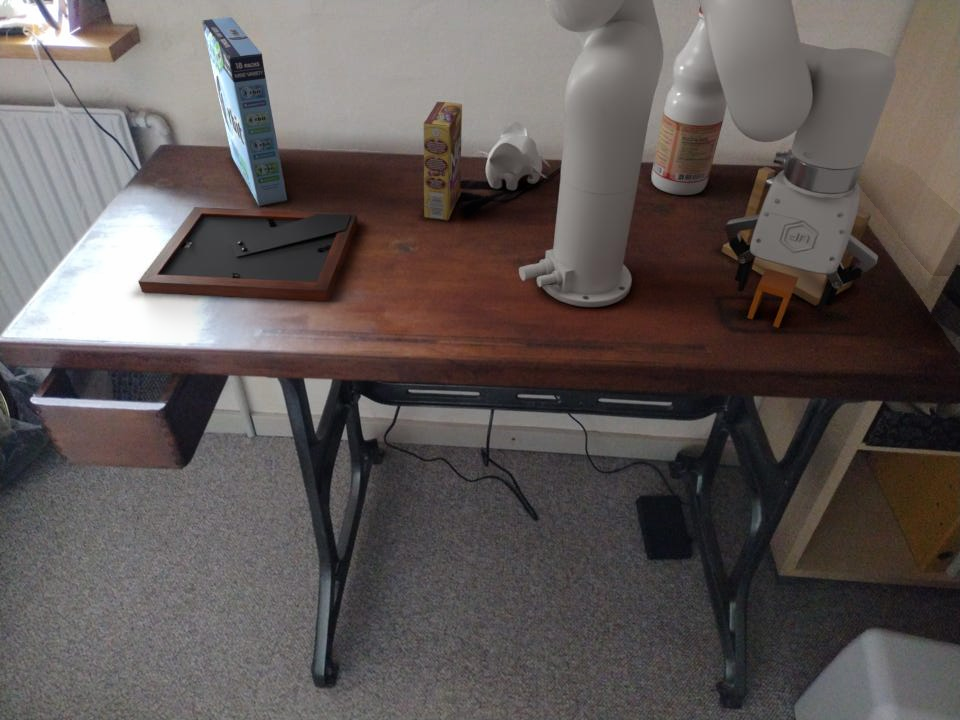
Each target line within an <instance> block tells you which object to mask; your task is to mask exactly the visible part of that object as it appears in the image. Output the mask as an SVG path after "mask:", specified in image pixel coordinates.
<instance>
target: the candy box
mask: <svg viewBox="0 0 960 720" xmlns="http://www.w3.org/2000/svg"><path fill="white" fill-rule="evenodd" d="M462 125H463V104H462V103H458V102H452V101H451V102H450V101H436V103H435V104H434V106H433V108H432V110H431V111H430V113H429V115H428V116H427V117H426V120H425V121H424V122H423V201H424V202H423V203H424V204H423V206H424V207H423V209H424V211H423V212H424V213H423V214H424V215H423V216H424V218H426V219H433V220H441V221H449V220H450V217H451V215H452V213H453V211H454V209H455V206H456V205H457V203H458V200H459V198H460V196H461V176H462V133H463V132H462V129H463V127H462Z"/></svg>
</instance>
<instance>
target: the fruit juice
mask: <svg viewBox="0 0 960 720" xmlns="http://www.w3.org/2000/svg"><path fill="white" fill-rule="evenodd" d="M698 17H699V19H698V22H697V23H696V26H695V28H694V30H693V31H692V33H691V35H690V37H689V38H688V40H687V42H686V43H685V45H684V47H683V48H682V49H681V50H680V52H679V53H678V54H677V55H676V57H675V59H674V62H673V66H672V85H671V88H670V89H669V90H668V93H667V95H666V98H665V102H664V107H663V112H662V117H661V122H660V128H659V132H658V139H657V143H656V148H655V153H654V158H653V159H654V160H653V163H652V169H651V177H650V178H651V179H650V180H651V183H652V184H653V186H654V187H656V189H658V190H660V191H663V192H665V193H668V194H671V195H677V196H692V195H696V194H700V193H701V192H702V191H704V190H705V188H706V186H707V184H708V182H709V178H710V175H711V171H712V167H713V161H714V158H715V154H716V150H717V146H718V142H719V138H720V134H721V130H722V127H723V123H724V119H725V116H726V110H727V107H728V106H727V102H726V99H725V96H724V92H723V89H722V85H721V82H720V79H719V75H718V72H717V68H716V65H715V61H714V57H713V53H712V49H711V45H710V41H709V37H708V33H707V29H706V25H705V20H704V17H703V13H702V10H701V6H700V5H699V9H698Z"/></svg>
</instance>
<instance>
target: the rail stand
mask: <svg viewBox="0 0 960 720" xmlns="http://www.w3.org/2000/svg"><path fill="white" fill-rule="evenodd" d="M775 174H776V170H775V169H773V168H770V167H768V166H764V167H762V168H759V169H758V171H757V175H756V178H755V182H754V184H753V188H752V191H751V195H750V197H749V201H748V204H747V207H746V212H745V214H744V217H748V216H753V215H758V214H760V212H761V209H762V206H763V204H764V201H765V198H766V196H767V193H768V191H769V189H770V187H771V185H772V183H773V181H774V179H775V178H776V176H775ZM871 217H872V214H871V213H869V212H867V211H864V210H862V209H858V210H857V215H856V218H855V222H854V225H853V228H852V232H851V235H852V236H853V237H855V238H856V239H857V240H858V241H860V242H861V240H862V237H863V236H864V233H865V231H866V229H867V227H868V224H869V221H870V220H871ZM754 230H755V228H754V229H748V230H743V231H740V235H741V236H742V237H743V239H744V240H745V242H746V243H747V245H748V244H749V243H751V240H752V237H753V233H754ZM721 252H722V253H724V254H725V255H727V256H729V257H730V258H732V259H734V260H736V261H737V262H738V260H737V258H738V257H737V256H736V254H735V253H734V251H733V250H732V248H731V247H730V245H729V242H727V243H724V244H723V246H722V248H721ZM853 259H854V256H853V255H852V254H851V253H849V252H848V251H847V250H845V253H844V255H843V258H842V260H841V263H842V265H843V267H844V268H847V267H849V266H851V262H852V260H853ZM766 268H768V269H771V270H775V271H778V272H782V273H785V274H788V275H792V276H795V277H798V280H797V283H796V285H795V288H794V291H793V293H792V294H794V295H796V296H798V297H799V298H801V299H803V300H804V301H806V302H808V303H810V304H811V305H813V306H818V304H819V301H820V299H821V296H822V293H823V291H824V288H825V285H826V283H827V280H828V278H827V276H826V274H817V273H813V272H809V271H805V270H801V269H797V268H793V267H789V266H785V265H781V264H777V263H773V262H770V261H766V260H763V259H760V258H757V257H755V260H754V263H753V267H752V270H753V271H755V272H756V273H758V274H759V275H761V276H763V274H764V272H765V270H766ZM853 282H854V281H851V282H848V283H846V284H843V285H842V287H841V288H838V290H837V292H836V295H839V294H840V293H842V292H844V291H845V290H847V289H849V288H851V287H852V284H853Z"/></svg>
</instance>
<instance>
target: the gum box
mask: <svg viewBox="0 0 960 720" xmlns="http://www.w3.org/2000/svg"><path fill="white" fill-rule="evenodd" d="M201 23H202V28H203V32H204V38H205V41H206V47H207V51H208V55H209V59H210V64H211V68H212V73H213V78H214V82H215V87H216V91H217V95H218V100H219V104H220V109H221V113H222V117H223V123H224V127H225V131H226V136H227V140H228V144H229V149H230V153H231V154H230V155H231V157H232V159H233V161H234V164H235V165H236V167H237V169H238V171H239V172H240V174H241V175H242V178H243V180H244V181H245V183H246V184H247V187H248V188H249V190H250V192H251V194H252V196H253V197H254V199H255V202H256V203H257V206H259V207H263V206H268V205H269V206H270V205H273V204H278V203H283V202H287V201H288V197H287V191H286V186H285V185H286V184H285V180H284V174H283V168H282V163H281V157H280V152H279V146H278V140H277V134H276V128H275V123H274V117H273V111H272V106H271V100H270V95H269V89H268V83H267V77H266V70H265V66H264V59H263V53H262V52H261V51H260V49H259V48H258V47H257V46H256V45H255V44H254V42H253V41H252V40H251V38H249V36H248V35H247V34H246V33H245V32H244V30H243V29H242V28H241V27H240V26H239V24H238V23H237V22H236V20H234V19H233V17H231V16H229V17H218V18H211V19H203V20H201Z"/></svg>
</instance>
